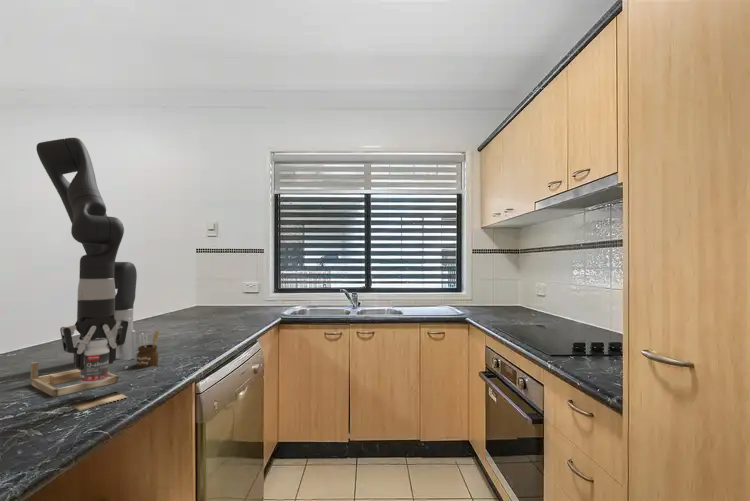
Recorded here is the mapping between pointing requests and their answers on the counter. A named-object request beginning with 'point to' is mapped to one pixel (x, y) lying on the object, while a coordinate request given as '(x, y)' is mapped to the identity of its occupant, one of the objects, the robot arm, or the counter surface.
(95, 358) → the pill bottle
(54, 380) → the offcut top
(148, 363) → the utensil holder
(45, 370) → the counter surface
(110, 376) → the rack
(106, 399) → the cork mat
